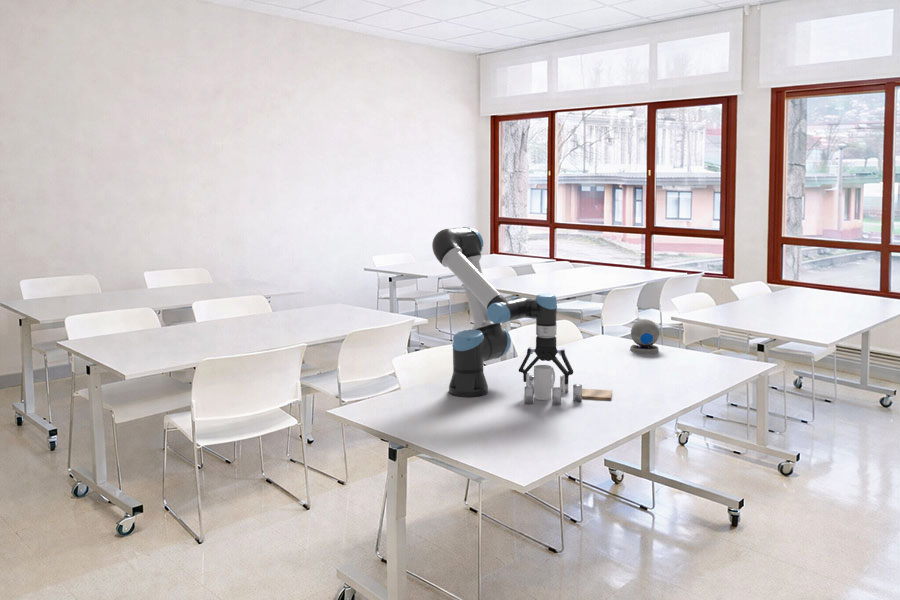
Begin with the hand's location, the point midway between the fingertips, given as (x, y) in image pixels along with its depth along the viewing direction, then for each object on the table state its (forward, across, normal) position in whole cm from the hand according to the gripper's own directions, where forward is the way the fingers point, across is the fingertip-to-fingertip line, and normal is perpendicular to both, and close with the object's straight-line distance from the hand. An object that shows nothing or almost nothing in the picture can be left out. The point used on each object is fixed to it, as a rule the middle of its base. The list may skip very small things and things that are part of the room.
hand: (545, 391), depth 280 cm
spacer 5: (+2, +12, -2) cm, 12 cm away
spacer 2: (+2, -6, +7) cm, 9 cm away
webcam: (+2, +36, +87) cm, 94 cm away
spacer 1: (+2, -5, -9) cm, 11 cm away
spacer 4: (+2, +6, +9) cm, 11 cm away
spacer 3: (+2, +5, -8) cm, 10 cm away
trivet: (+2, +18, +6) cm, 19 cm away
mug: (+2, 0, 0) cm, 2 cm away
